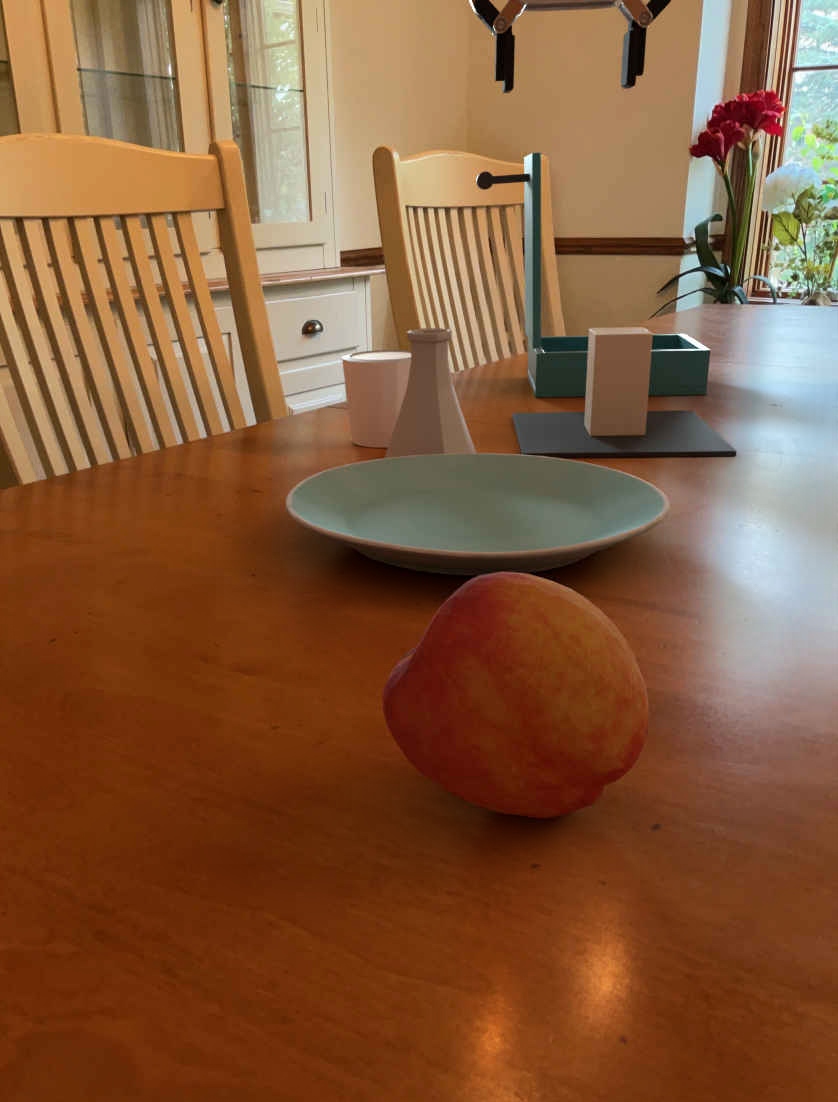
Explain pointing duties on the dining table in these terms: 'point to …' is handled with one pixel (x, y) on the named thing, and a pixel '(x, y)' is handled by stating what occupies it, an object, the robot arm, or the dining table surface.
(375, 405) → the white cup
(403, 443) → the flask
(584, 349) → the box
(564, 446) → the mat
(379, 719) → the dining table surface
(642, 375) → the beige rectangular block
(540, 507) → the plate
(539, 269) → the lunchbox lid
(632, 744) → the fruit
